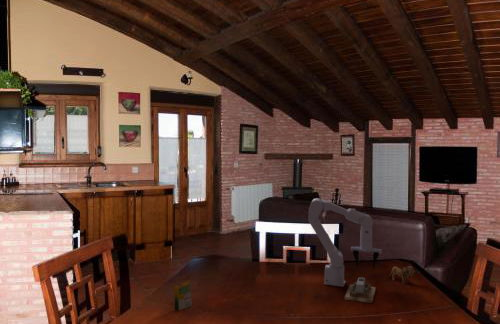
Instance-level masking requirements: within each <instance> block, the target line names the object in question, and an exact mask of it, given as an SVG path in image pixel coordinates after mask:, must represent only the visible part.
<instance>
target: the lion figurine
mask: <svg viewBox="0 0 500 324" xmlns="http://www.w3.org/2000/svg"><path fill="white" fill-rule="evenodd" d="M414 273H415V269H414V267H412V265H411V266H410V265H408V266H405V267H402V268H400V267H398V266H396V265H395V266H393V267H392V268H391V271H390V274H389V275H387V278H390V277H391V276H392V281H396V279H395V278H396V276H395V275H397V276H399V277H401V279H402V280H401V281H402V282H401V283H402V284H407V283H408V281H407V279H409V278H410V277H413V275H414Z"/></svg>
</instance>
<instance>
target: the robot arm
mask: <svg viewBox="0 0 500 324" xmlns="http://www.w3.org/2000/svg"><path fill="white" fill-rule="evenodd" d="M322 211H323V212H326V211H332V212H334V213H337V214H340V215H341V216H342V215H343V216H344V217H345V219H346V220H348V221H350V222H352V223H355V224H358V225H360V233H359V234H360V236H359V237H360V239H359V246H351V247H350V251H351V252H352V255H353V257H354V260H355V263H356V267H359V266H360V260H359V259H360V258H359V257H360V253H370V254H372V257H373V258H372V259H373V260H372V263H373V264H372V269H375V268H376V262H377V260H378V257H379V255H382V253H383V252H382V251H383V249H381V248H375V247H373V225H374V220H373V217H372V216H370V215H369V214H368V213H366V212H361V211H358V210H356V208H347V209H346V208H344V207H342V206H340V205H338V204H335V203H334V202H332V201H329V200H326V199H322V198H319V197H315V198H313V199H312V200H311V202H310V205H309V206H308V216H307V217H308V219H307V220H308V222H309V224H310V226H311V228H312V229H313V231H314V233H315V234H316V236H317V238H318V239H319V240H320V242H321V244H322V246H323V247H324V249H325V251H326V253H327V255H328V258H329V260H330V263H329V264H325V266H324V283H323V284H324V285H327V286H334V287H344V286H345V284H346V282H347V281H346V280H345V264H344V255H343V253H342V252H341V251H340V250H339V249H338V248H337V246H335V245H334V243H333V240H332V239H331V237H330V236H329V234H328V233H327V231H326V229H325V228H324V226H323V225H322V223H321V221H320V219H319V217H320V214H321V213H322Z"/></svg>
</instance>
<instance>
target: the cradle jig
mask: <svg viewBox="0 0 500 324" xmlns="http://www.w3.org/2000/svg"><path fill="white" fill-rule="evenodd" d="M356 283H357V281H353V284H351V283H350V284H349V286H348V288H347V290H346V293H345V295H344V300H345V301H346V300H348V301H354V302H361V303H362V302H363V303H367V304H368V303H370V304H373V301H374V298H375V294H376V290H377V289H376V286H372V284H371V283H366V282H365V290H364V293H357V292H356Z"/></svg>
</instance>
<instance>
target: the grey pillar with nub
mask: <svg viewBox="0 0 500 324" xmlns="http://www.w3.org/2000/svg"><path fill="white" fill-rule="evenodd" d="M356 282H357V283H356V292H357V293H364V290H365V283H366V277H364V276H358V278H357V281H356Z"/></svg>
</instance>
